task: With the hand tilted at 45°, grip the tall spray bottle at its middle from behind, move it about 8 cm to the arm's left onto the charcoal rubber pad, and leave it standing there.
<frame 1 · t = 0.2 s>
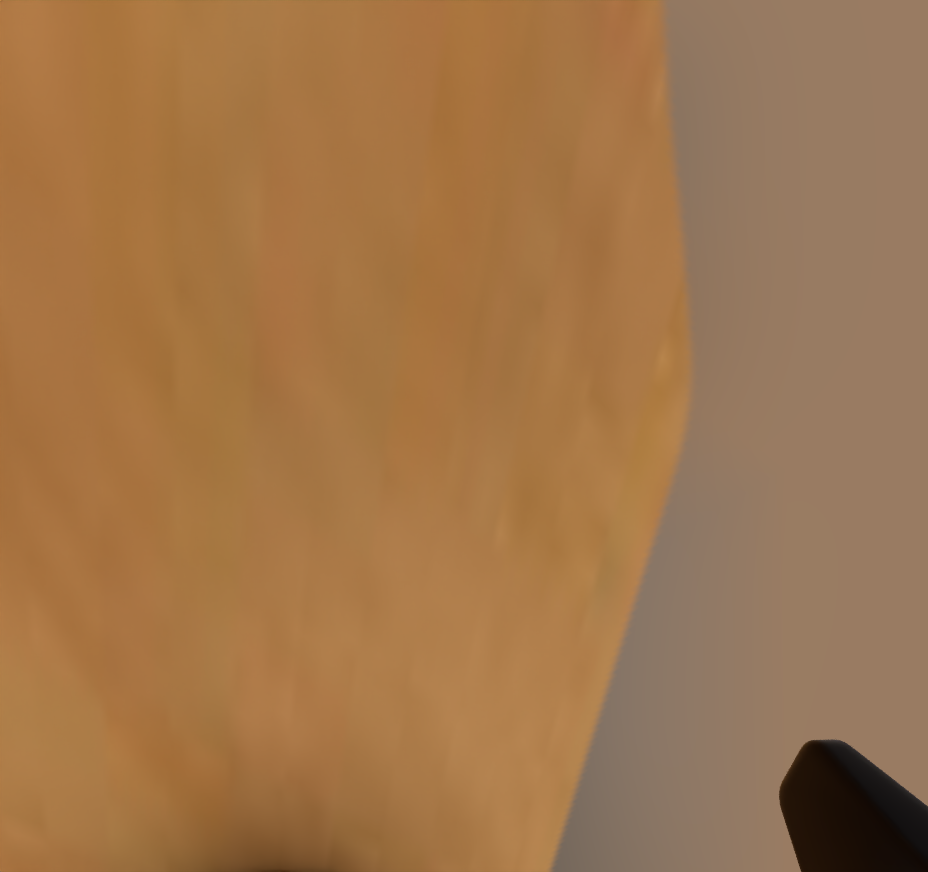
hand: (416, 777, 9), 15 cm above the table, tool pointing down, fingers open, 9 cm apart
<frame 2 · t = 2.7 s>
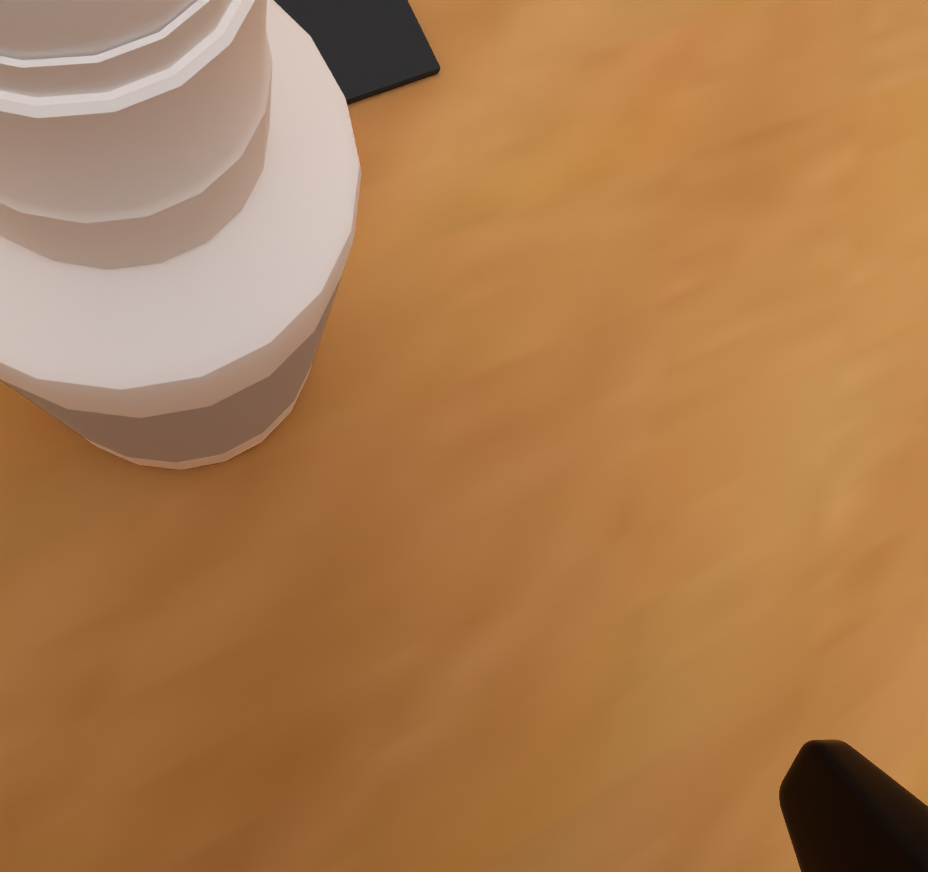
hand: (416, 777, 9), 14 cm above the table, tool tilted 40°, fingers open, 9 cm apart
spray bottle: (180, 343, 23), on the table
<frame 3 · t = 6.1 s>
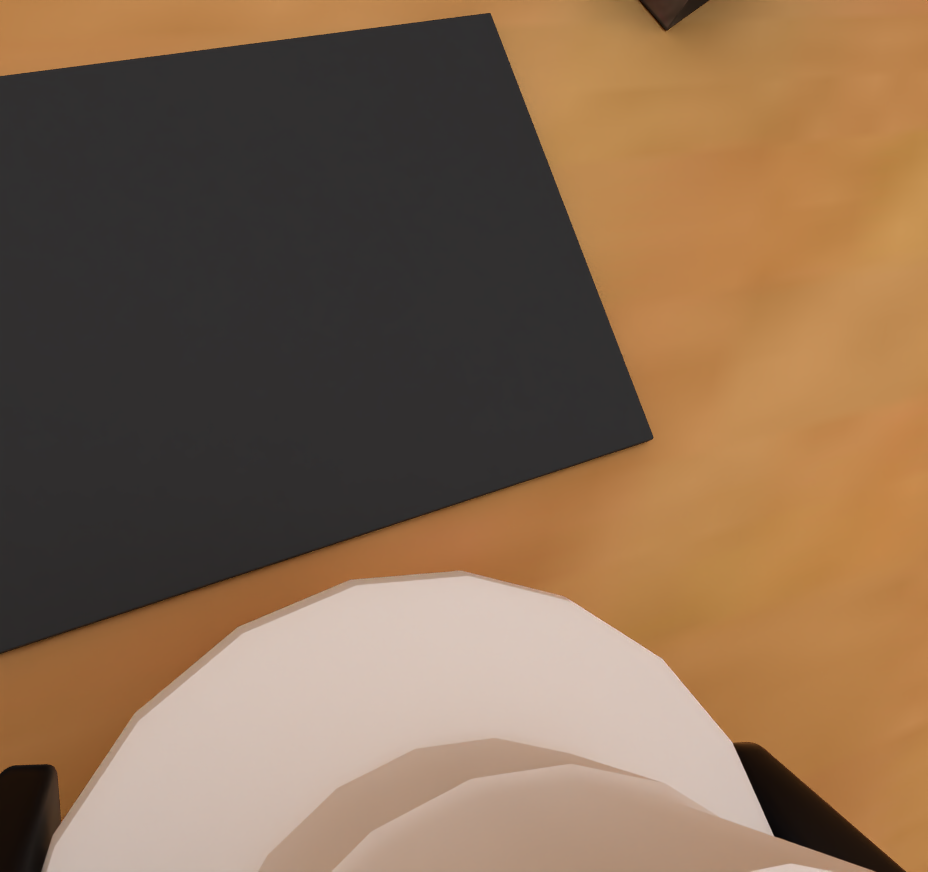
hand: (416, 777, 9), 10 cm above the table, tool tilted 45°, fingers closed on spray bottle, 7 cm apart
spray bottle: (314, 781, 18), on the table, touching gripper
pad: (169, 311, 19), on the table
when the fingers open (10 cm above the table, at t = 10.6 s): spray bottle stays where it is, resting on pad.
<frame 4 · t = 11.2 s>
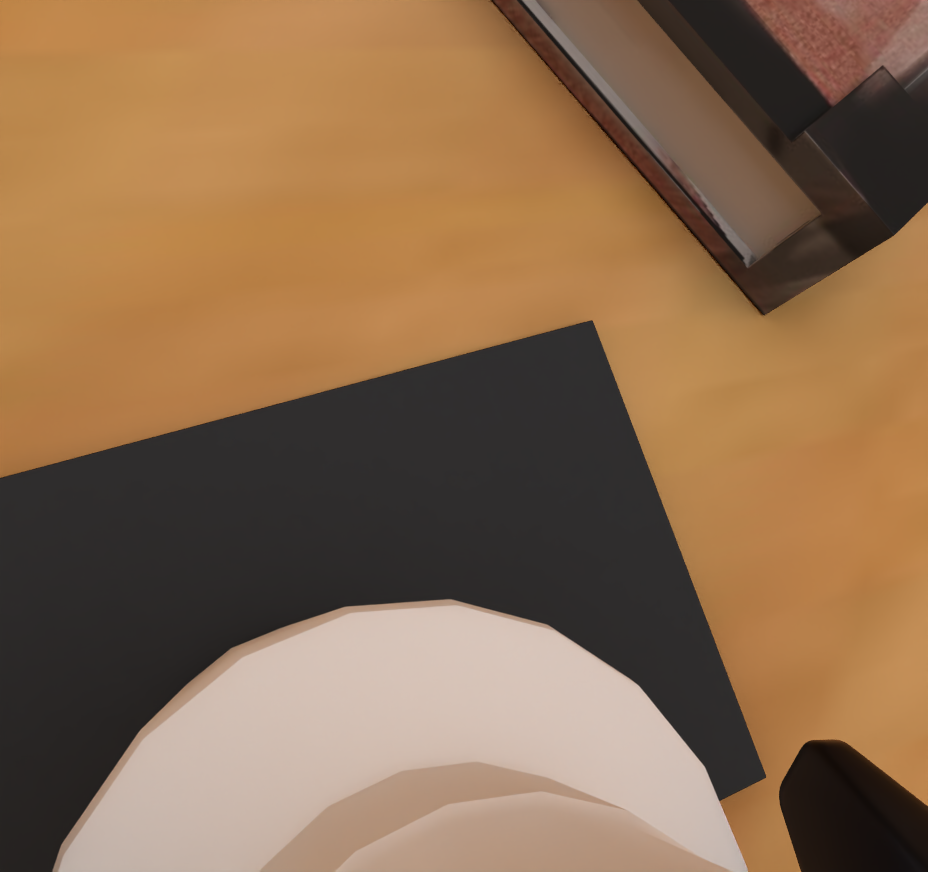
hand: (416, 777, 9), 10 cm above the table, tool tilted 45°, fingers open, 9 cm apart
spray bottle: (310, 790, 18), resting on pad
pad: (285, 685, 19), on the table
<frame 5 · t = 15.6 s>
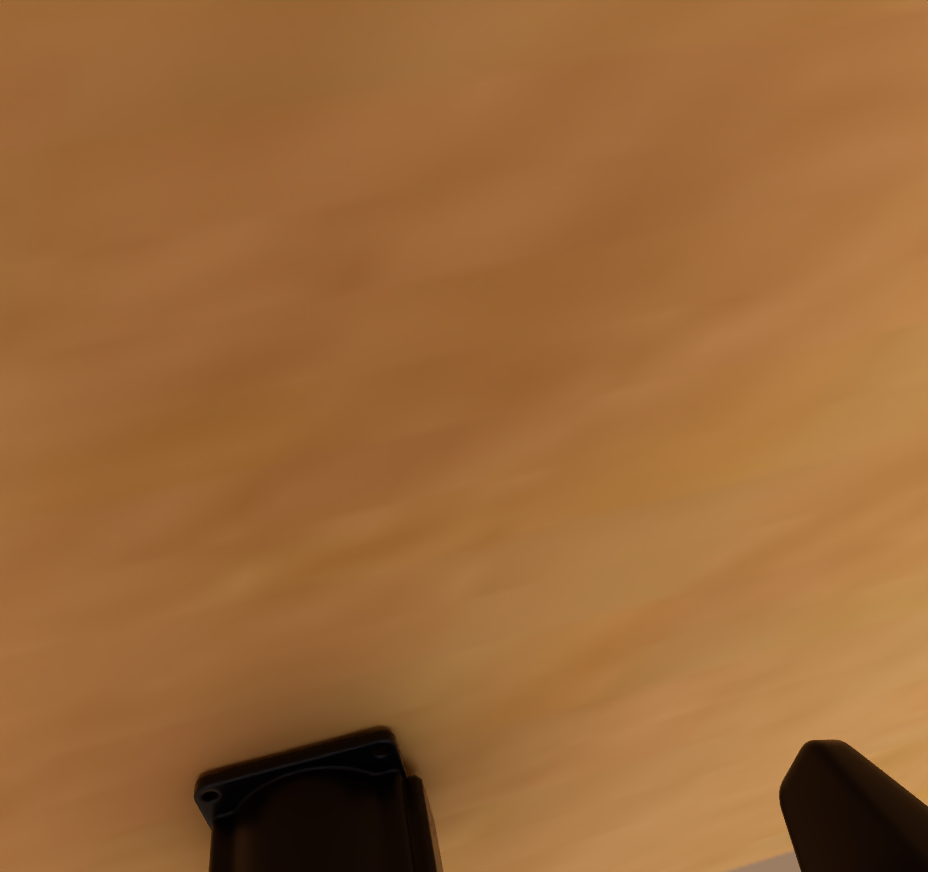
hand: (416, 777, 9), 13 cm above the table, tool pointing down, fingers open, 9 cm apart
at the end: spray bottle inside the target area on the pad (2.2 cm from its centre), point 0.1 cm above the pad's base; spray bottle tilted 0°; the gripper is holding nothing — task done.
